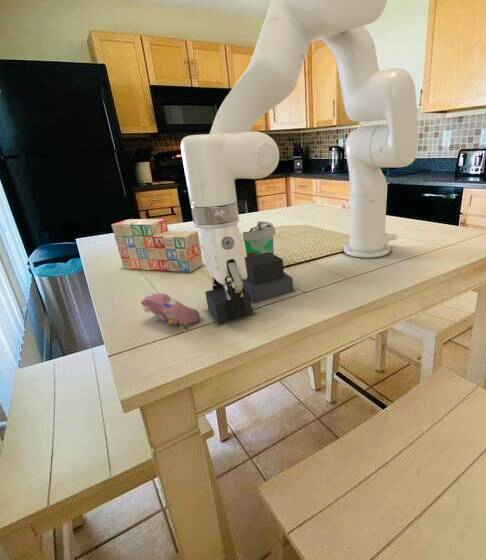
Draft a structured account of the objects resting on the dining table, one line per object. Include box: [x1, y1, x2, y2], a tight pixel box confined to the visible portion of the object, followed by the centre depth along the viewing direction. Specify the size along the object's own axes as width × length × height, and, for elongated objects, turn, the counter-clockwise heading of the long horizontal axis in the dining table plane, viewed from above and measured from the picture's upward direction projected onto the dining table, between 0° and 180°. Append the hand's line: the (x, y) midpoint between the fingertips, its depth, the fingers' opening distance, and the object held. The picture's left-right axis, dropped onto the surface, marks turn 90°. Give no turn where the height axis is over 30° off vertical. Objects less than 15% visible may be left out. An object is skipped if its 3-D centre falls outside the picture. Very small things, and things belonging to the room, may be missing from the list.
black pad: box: [204, 284, 254, 325], centre depth 62 cm, size 6×6×4 cm
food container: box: [242, 220, 277, 257], centre depth 86 cm, size 12×6×10 cm, turn 168°
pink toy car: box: [140, 292, 201, 326], centre depth 60 cm, size 10×5×7 cm, turn 56°
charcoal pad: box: [244, 252, 285, 285], centre depth 70 cm, size 6×6×4 cm
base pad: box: [241, 272, 294, 302], centre depth 72 cm, size 9×9×3 cm
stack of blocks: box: [111, 218, 204, 273], centre depth 88 cm, size 21×6×12 cm, turn 72°
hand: (229, 309), depth 63 cm, fingers closed on black pad, 6 cm apart
